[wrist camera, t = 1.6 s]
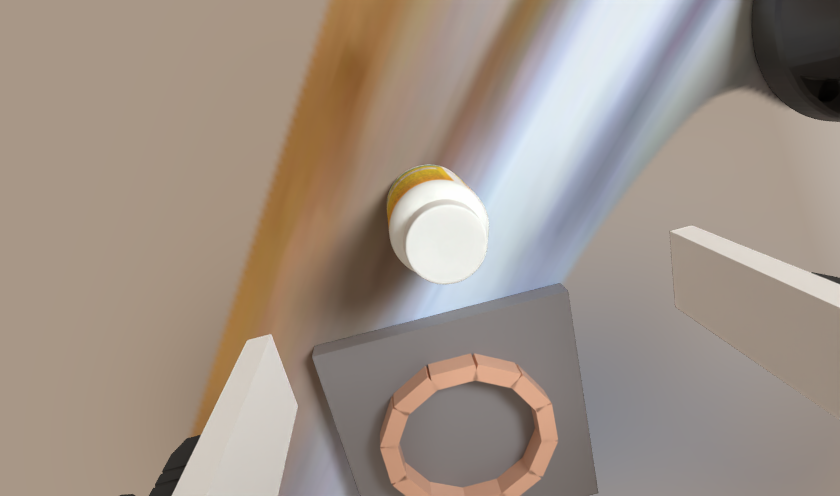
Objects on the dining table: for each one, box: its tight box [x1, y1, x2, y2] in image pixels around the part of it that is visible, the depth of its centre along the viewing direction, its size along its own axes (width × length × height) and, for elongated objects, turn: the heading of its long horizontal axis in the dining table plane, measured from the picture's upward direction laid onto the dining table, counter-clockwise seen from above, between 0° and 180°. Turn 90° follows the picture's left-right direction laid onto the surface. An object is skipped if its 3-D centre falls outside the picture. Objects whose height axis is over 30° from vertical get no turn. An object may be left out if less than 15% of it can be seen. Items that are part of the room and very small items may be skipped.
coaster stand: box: [312, 283, 598, 496], centre depth 36 cm, size 18×18×3 cm
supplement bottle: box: [387, 165, 489, 284], centre depth 28 cm, size 5×5×10 cm
